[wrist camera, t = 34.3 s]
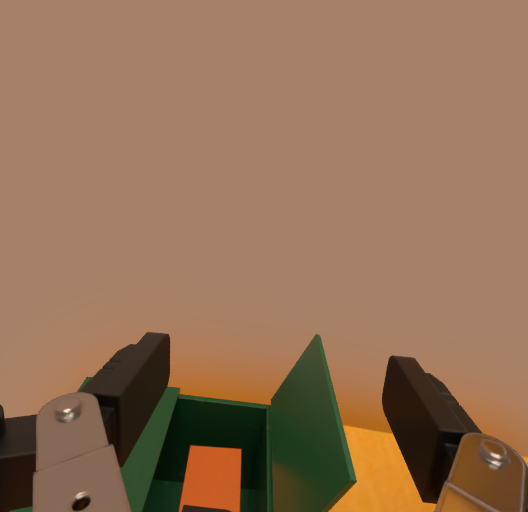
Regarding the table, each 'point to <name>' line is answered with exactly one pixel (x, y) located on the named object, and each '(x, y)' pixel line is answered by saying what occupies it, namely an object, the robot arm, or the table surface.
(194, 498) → the block
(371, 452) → the table surface
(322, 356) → the green box lid flap
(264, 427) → the green flap box
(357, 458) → the table surface
